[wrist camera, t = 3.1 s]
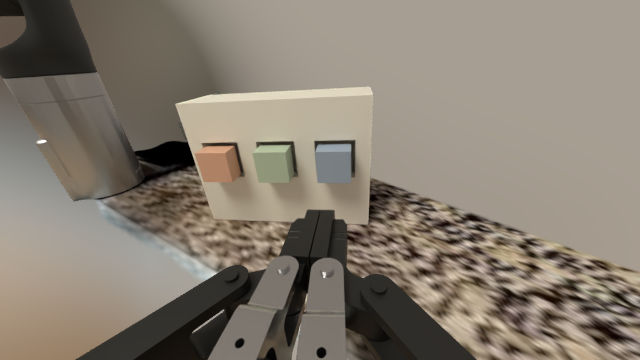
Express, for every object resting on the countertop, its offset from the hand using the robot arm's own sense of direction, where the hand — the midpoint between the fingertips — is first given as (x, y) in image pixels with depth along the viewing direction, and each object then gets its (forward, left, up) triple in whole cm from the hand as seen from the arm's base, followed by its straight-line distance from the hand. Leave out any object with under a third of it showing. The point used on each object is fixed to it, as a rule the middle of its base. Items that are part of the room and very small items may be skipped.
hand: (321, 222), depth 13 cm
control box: (+4, +15, -9) cm, 18 cm away
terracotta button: (-3, +16, -3) cm, 16 cm away
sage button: (+2, +12, -3) cm, 12 cm away
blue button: (+6, +8, -3) cm, 11 cm away
